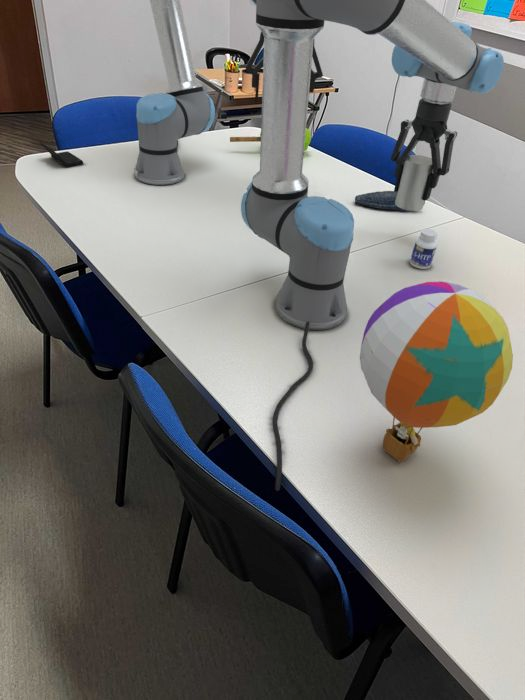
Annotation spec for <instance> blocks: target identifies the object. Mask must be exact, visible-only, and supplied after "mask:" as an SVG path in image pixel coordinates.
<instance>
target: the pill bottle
mask: <svg viewBox="0 0 525 700" xmlns="http://www.w3.org/2000/svg"><path fill="white" fill-rule="evenodd" d="M438 235H439V233H438V231H435V230H434V229H430V228H423V229H422V230H421V231H420V235H419V237H417V238H416V239H415V242H414V245H413V249H412V252H411V255H410V259H409V264H410V265H411V266H413V267H414V268H417V269H420V270H421V269H422V270H426V269H429V268H430V267H431V265H432V264H433V263H432V262H433V259H434V256H435V254H436V250H437V247H438V242H437V238H438Z"/></svg>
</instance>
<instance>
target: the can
mask: <svg viewBox="0 0 525 700" xmlns="http://www.w3.org/2000/svg"><path fill="white" fill-rule="evenodd" d="M403 164H404V168H403V172H402V176H401V180H400V184H399V188H398V192H397V196H396V200H395V204H396V206H398V207H399V208H401V209H404V210H406V211H410V212H419V211H421V210H423V208H424V206H425V204H424V202H425V203H426V201H424V200H423V197H424V193H425V190H426V186H427V183H428V179H429V175H430V174H432V173H433V167H432V157H429V156H426V155H421V154H410V155H409V156H407V157H406V159H405V163H403ZM423 205H424V206H423Z"/></svg>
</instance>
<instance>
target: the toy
mask: <svg viewBox="0 0 525 700" xmlns="http://www.w3.org/2000/svg"><path fill="white" fill-rule="evenodd" d="M510 336H511V335H510V332H509V327H508V325H507V323H506V321H505V319H504V317H503V316H502V315H501V314H500V312H499V311H498V310H497V309H496V307H494V305H493V304H492V303H491V302H490V301H489V300H488V299H487V298H485V297H484V296H482V295H481V294H479V293H478V292H476V291H475V290H473V289H470V288H468V287H465V286H463V285H460V284H457V283H451V282H446V281H425V282H421V283H417V284H414V285H409V286H407V287H404V288H402V289H399V290H398V291H396V292H395V293H393V294H392V295H391V296H390V297H388V298H387V299H386V300H385V301H384V302H383V303H381V305H380V306H378V307H377V308H375V310H374V311H373V313H372V314H371V315H370V317H369V318H368V319H367V322H366V325H365V328H364V331H363V336H362V340H361V344H360V353H359V363H360V369H361V371H362V374H363V377H364V379H365V381H366V384H367V387H368V388H369V390H370V393H371V395H372V396H374V398H375V399H376V400H377V401H378V402H379V404H380V405H381V406H382V407H383V408H384V409H385V410H386V411H388V413H389V414H390V415H391V416H392V417H393V421H392V426H391V428H386V430H385V433H384V437H383V440H382V449H383V450H384V451H385V452H386V453H387V454H389V456H391V457H392V458H393V459H395V460H396V461H397V462H399V463H403V462H405V460H407V459H408V458H409V457H410V456H411V455H413V454H414V453H415V452H416V450H417V449H418V448H420V447H421V441H422V436H421V435H420V434H419V433H420V432H421V431H422V430H423V429H424V428H425V429H428V428H443V427H452V426H457V425H459V424H461V423H463V422H466V421H468V420H470V419H472V418H474V417H477V416H479V415H480V414H481V415H482V414H483V413H484V412H486V411H487V410H489V408H490V407H491V406H492V405H494V403H495V401H496V400H497V398H498V397H499V395H500V393H501V392H502V390H503V388H504V387H505V386H506V384H507V383H508V381H509V378H510V376H511V372H512V370H513V359H514V353H513V347H512V342H511V337H510ZM395 420H397V421H398V422H399V423H397V424H395ZM415 428H417V429H419V428H420V429H419V430H418V431H417V432H416V430H415Z"/></svg>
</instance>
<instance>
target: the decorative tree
mask: <svg viewBox="0 0 525 700" xmlns="http://www.w3.org/2000/svg"><path fill="white" fill-rule="evenodd" d="M311 140H312V134H311V131H310V130H309V129H308V128H307V127H306V133H305V144H304V152H305V151H307V149H308V148H309V146H310V145H311ZM229 142H230V143H242V142H243V143H249V142H251V143H252V142H253V143H254V142H256V143H258V142H260V143H261V132H260V134H259V136H229Z"/></svg>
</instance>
